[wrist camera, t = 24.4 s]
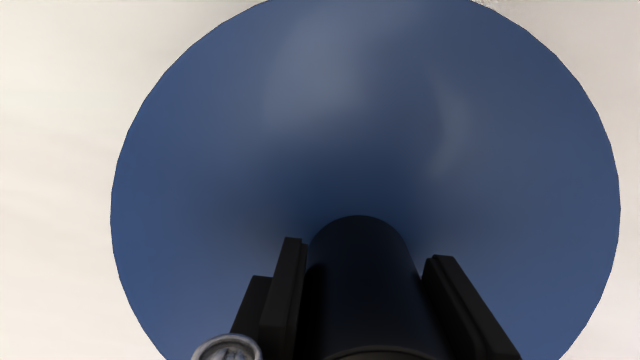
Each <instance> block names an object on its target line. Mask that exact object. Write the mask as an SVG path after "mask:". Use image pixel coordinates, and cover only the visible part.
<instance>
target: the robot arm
mask: <svg viewBox="0 0 640 360" xmlns="http://www.w3.org/2000/svg"><path fill="white" fill-rule="evenodd" d="M307 253H308V244H304V243H302V239H301V238H292V237H285V238H284V242H283V245H282V248H281V252H280V255H279V258H278V262H277V265H276V268H275V272H274V275H273V277H266V276H257V275H253V276H252V278H251V280H250V283H249V285H248V288H247V290H246V293H245V295H244V298H243V300H242V303H241V305H240V307H239V310H238V312H237V315H236V317H235V320H234V322H233V325H232V327H231V330H230V332H229V333H226V334H220V335H217V336H214V337H211V338H210V339H208V340H206V341H205V342H203V343H202V344H201V345H200V346H199V347H198V348H197V349H196V350H195V352H194V354H193V356H192V358H191V360H293V357H294V349H295V342H296V335H297V328H298V321H299V314H300V307H301V300H302V292H303V285H304V278H305V270H306V262H307ZM421 281H422V283H423V285H424V288H425V290H426V292H427V295H428V297H429V299H430V301H431V304H432V306H433V308H434V310H435V313H436V315H437V317H438V320H439V322H440V324H441V326H442V329H443V331H444V333H445V335H446V338H447V340H448V342H449V344H450V347H451V349H452V351H453V354H454V356H455V358H456V360H523V359H522V358H521V355H520V354H519V352H518V351H517V349H516V348H515V346H514V345H513V343H512V342H511V340H510V339H509V337H508V336H507V334H506V333H505V332H504V330H503V329H502V327H501V326H500V324H499V323H498V321H497V320H496V318H495V317H494V315H493V314H492V312H491V311H490V309H489V308H488V306H487V305H486V304H485V302H484V301H483V299H482V298H481V296H480V295H479V293H478V292H477V290H476V289H475V287H474V286H473V284H472V283H471V281H470V280H469V278H468V277H467V276H466V274H465V273H464V271H463V270H462V268H461V267H460V265H459V264H458V262H457V261H456V259H455V258H454V257H453V256H447V255H438V254H434V255H433V256H432V258H427V259H426V261H425V265H424V269H423V274H422V278H421Z"/></svg>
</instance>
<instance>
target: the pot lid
mask: <svg viewBox="0 0 640 360" xmlns="http://www.w3.org/2000/svg"><path fill="white" fill-rule="evenodd" d="M620 212H621V207H620V193H619V179H618V173H617V169H616V165H615V161H614V156H613V152H612V148H611V144H610V141H609V139H608V137H607V134H606V132H605V129H604V127H603V124H602V122H601V120H600V117H599V115H598V112H597V111H596V109H595V107H594V106H593V104H592V103H591V101H590V99H589V98H588V96H587V94H586V93H585V91H584V90H583V88H582V86H581V85H580V83H579V82H578V81H577V79H576V78H575V77H574V76H573V75H572V74H571V72H570V71H569V70H568V69H567V68H566V67H565V65H564V64H563V63H562V62H561V61H560V60H559V58H558V57H557V56H556V55H555V54H554V53H553V52H552V51H550V50H549V49H548V48H547V47H546V46H544V45H543V44H542V43H541V42H540V41H539V40H537V39H536V38H535V37H534V36H533V35H531V34H530V33H529V32H528V31H527V30H525V29H524V28H522V27H520V26H519V25H517V24H516V23H514V22H512V21H511V20H509V19H507V18H506V17H504V16H502V15H501V14H499V13H497V12H496V11H494V10H492V9H490V8H488V7H485V6H483V5H480V4H478V3H475V2H473V1H471V0H268V1H265V2H262V3H260V4H257V5H255V6H253V7H251V8H249V9H247V10H245V11H243V12H242V13H240V14H238V15H236V16H234V17H232V18H230V19H229V20H227V21H225V22H223V23H221V24H220V25H218V26H217V27H216V28H214V29H213V30H212V31H210V32H209V33H208V34H206V35H205V36H204V37H202V38H201V39H200V40H198V41H197V42H196V43H194V44H193V45H192V46H190V47H189V48H188V49H187V50H186V51H185V52H184V53H183V54H182V55H181V56H180V57H179V58H178V59H177V60H176V61H175V62H174V63H173V64H172V65H171V66H170V67H169V69H168V70H167V71H166V72H165V73H164V74H163V75H162V77H161V78H160V79H159V81H158V82H157V84H156V85H155V86H154V88H153V89H152V90H151V92H150V93H149V94H148V96H147V97H146V98H145V100H144V102H143V103H142V105H141V107H140V109H139V111H138V113H137V115H136V117H135V119H134V120H133V122H132V124H131V126H130V128H129V130H128V132H127V135H126V138H125V141H124V144H123V147H122V150H121V152H120V155H119V158H118V161H117V166H116V171H115V176H114V182H113V187H112V192H111V215H110V226H111V236H112V246H113V253H114V257H115V262H116V266H117V270H118V274H119V278H120V281H121V284H122V286H123V289H124V291H125V294H126V297H127V299H128V302H129V304H130V306H131V308H132V310H133V312H134V314H135V316H136V317H137V319H138V321H139V323H140V325H141V327H142V328H143V330H144V332H145V333H146V334H147V336H148V337H149V338H150V340H151V341H152V343H153V344H154V345H155V347H156V348H157V350H158V351H159V352H160V353H161V354H162V356H163V357H164V358H165V359H166V360H191V358H192V356H193V354H194V352H195V350H196V349H197V348H198V347H199V346H200V345H201V344H202V343H203V342H205V341H206V340H208V339H210V338H211V337H214V336H217V335H220V334H226V333H229V332H230V330H231V327H232V325H233V322H234V320H235V317H236V315H237V312H238V310H239V307H240V305H241V303H242V300H243V298H244V295H245V293H246V290H247V288H248V285H249V283H250V280H251V278H252V276H253V275H257V276H266V277H273V275H274V272H275V268H276V265H277V262H278V258H279V255H280V252H281V248H282V245H283V242H284V238H285V237H292V238H301V239H302V243H304V244H308V253H307V262H306V270H305V278H304V285H303V292H302V300H301V307H300V314H299V321H298V328H297V335H296V342H295V349H294V357H293V360H456V358H455V356H454V354H453V351H452V349H451V347H450V344H449V342H448V340H447V338H446V335H445V333H444V331H443V329H442V326H441V324H440V322H439V320H438V317H437V315H436V313H435V310H434V308H433V306H432V304H431V301H430V299H429V297H428V295H427V292H426V290H425V288H424V285H423V283H422V281H421V278H422V274H423V269H424V265H425V261H426V259H427V258H432V256H433V255H434V254H438V255H447V256H453V257H454V258H455V259H456V261H457V262H458V264H459V265H460V267H461V268H462V270H463V271H464V273H465V274H466V276H467V277H468V278H469V280H470V281H471V283H472V284H473V286H474V287H475V289H476V290H477V292H478V293H479V295H480V296H481V298H482V299H483V301H484V302H485V304H486V305H487V306H488V308H489V309H490V311H491V312H492V314H493V315H494V317H495V318H496V320H497V321H498V323H499V324H500V326H501V327H502V329H503V330H504V332H505V333H506V334H507V336H508V337H509V339H510V340H511V342H512V343H513V345H514V346H515V348H516V349H517V351H518V352H519V354H520V355H521V358H522V359H523V360H559V359H560V358H561V357H562V356H563V355H564V353H565V352H566V351H567V350H568V349H569V348H570V347H571V345H572V344H573V342H574V341H575V340H576V338H577V337H578V336H579V334H580V333H581V331H582V330H583V329H584V327H585V326H586V324H587V322H588V321H589V319H590V317H591V315H592V313H593V312H594V310H595V308H596V306H597V304H598V302H599V301H600V299H601V296H602V293H603V291H604V288H605V286H606V283H607V280H608V278H609V275H610V273H611V270H612V265H613V261H614V257H615V252H616V248H617V244H618V237H619V224H620Z"/></svg>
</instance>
